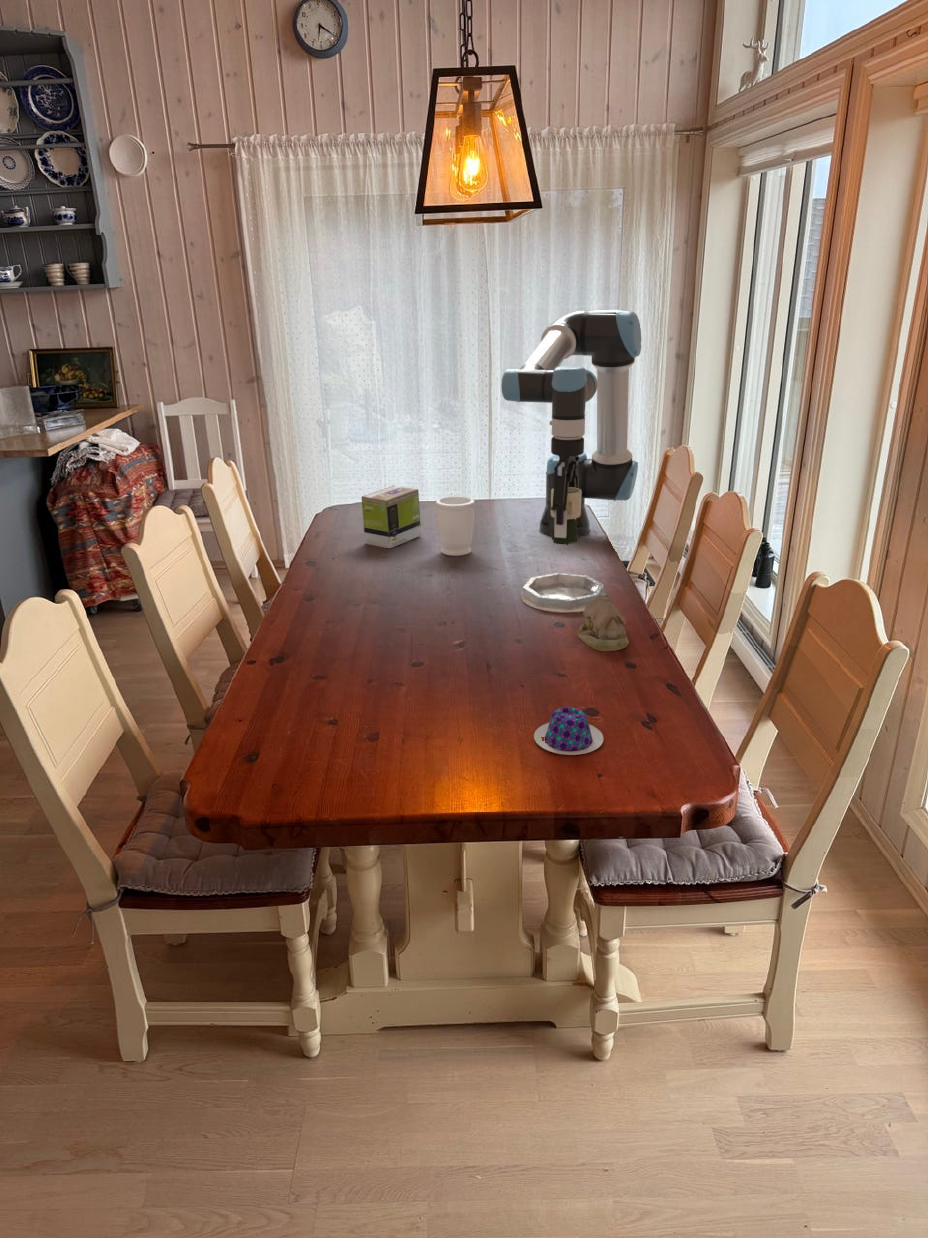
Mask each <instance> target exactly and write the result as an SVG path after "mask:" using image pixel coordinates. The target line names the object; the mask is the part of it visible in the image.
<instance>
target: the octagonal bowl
mask: <svg viewBox="0 0 928 1238" xmlns="http://www.w3.org/2000/svg"><path fill="white" fill-rule="evenodd" d="M599 595H602V596H604V595H607V594H606V592H605V584H603V583H601V582H600V581H598V580H596V579H594V578H593V577H591V576H589V575H585V574H574V573H573V574H572V573H564V572H554V573H549V574H543V575H538V576H537V575H536V576H531V577H530V579H529V580H528V581H527V582H526V584H524V585H523V587H522V591H521V593H520V600H521V601H522V603H524V604H525V605H526V606H528V607H530V608H532V609H535V610H538V611H542V612H546V613H547V612H548V613H557V614H576V613H583V612H584V610H585V608H586V606H587V605H588V604H589V603H590V602H592V601H593V600H594V599H596V598H597V596H599Z"/></svg>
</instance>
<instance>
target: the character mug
mask: <svg viewBox="0 0 928 1238" xmlns="http://www.w3.org/2000/svg"><path fill="white" fill-rule="evenodd" d="M553 493H554V488H553V489H552V490H551V507H552V506H553ZM581 494H582V492H581V489H579V488H575V487H569V488H568V495H567V503H566V510H567V530H566V538H559V537H554V528H553V534H552V536H551V541H552V543H553V544H557V545H563V546H564V545H565V546H568V545H569V544H575V543H578V542H579V536H578V530H577V522H576V520H575V518H578V517H580V515H581ZM558 505H560V504H558ZM551 516H552V517H554V518H555V511H554V510H551ZM554 526H555V523H554Z"/></svg>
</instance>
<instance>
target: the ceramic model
mask: <svg viewBox="0 0 928 1238" xmlns="http://www.w3.org/2000/svg"><path fill="white" fill-rule="evenodd" d="M582 615H583V617H584V623H582V624H580V625H579V627H578V632H577V637H578V638H579V639H580V640H581V641H582V642H583V643H584V644H585V645H587V646H589V647H590V648H591V649H593V650H596V651H600V652H611V651H613V652H614V651H618V650H622V649H624V648H627V647H628V645H629V644H630V641H629V639H628V636H627V631H626V627H625V626H626V624H627V623H626V619H625V617H624V616H623V615H622V614H621V612H620V610H618V609H617V608H616V607H615V605H614V604H613V603H612V602H611V599H610V596H609V595H607V594H606V595H604V596H602V595H599V596H597V598H596V599H594V600H593V601H592V602H590V603H589V604H588V605H587V606H586V608H585V610H584V612H582Z"/></svg>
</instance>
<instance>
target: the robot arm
mask: <svg viewBox="0 0 928 1238" xmlns="http://www.w3.org/2000/svg"><path fill="white" fill-rule="evenodd" d="M641 351H642V328H641V322H640V320H639V316H638V315H637V313H635V312H634V311H633V310H632V311H631V310H621V309H608V310H604V309H603V310H585V309H584V310H582V309H581V310H580V309H579V310H577V311H572V312H569V313H566V314H565V315H563V316H560V317H559V318H557V319H555V320H554V321H553V322H551V323H550V324H549V325H548V326H547V327H546V328H545V329H544V331H543V332H542V334H541V337H540V342H539V344H538V345H537V346H536V347H535V349H534V350H533V351H532V353H531V354H530V355H529V357H528V358H527V359H526V361H525V362H524V363H523V365H522V366H521V367H520V368H510V369H506V370H505V371H504V372H503V374H502V377H501V395H502V397H503V399H504V400H505V401H507V402H516V403H548V404H549V403H550V404H551V421H549V423H548V425H550V426H551V435H552V438H551V441H550V453H551V454H552V455H553V456H551V457H549V458H548V460H547V462H546V471H545V479H546V480H545V483H546V484H545V506H544V510H543V513H542V516H541V519H540V521H539V531H540V532H541V533H542V534H545V535H547V536H551V537H552V534H553V528H554V537H559V538H566V530H567V510H566V503H567V495H568V488H569V487H575V488H579V489H581V492H582V494H581V515H580V517H578V518H575V520H576V522H577V530H578V537H580V536H584V535H587V534H588V533H589V532H590V520H589V516H588V513H587V510H586V507H585V506H586V505H585V503H586V502H585V500H586V499H589V500H590V499H591V500H592V499H594V500H602V501H613V502H616V501H622V502H623V501H628V500H630V499H631V497H632V496H633V495H632V494H633V492H634V488H635V485H636V481H637V476H638V469H639V462H638V461H636V460H633V453H632V452H631V451H630V450H629V449H628V432H629V431H628V429H629V428H628V427H629V426H628V425H629V383H630V382H629V379H630V378H629V376H630V374H629V373H630V371H629V370H630V368H631V367H632V365H634V363H635V361H636V360H635V359H636V357H640V355H641ZM571 356H586V357H587V356H588V357H590V356H591V357H590V358H591V365H592V366H593V367H594V368H595V369H596V375H595V374H594V373H593V372H592V371H591V370H589V369H586V368H585V367H583V366H580V365H562V363H563V362H564V360H566V359H569V358H570V357H571ZM561 365H562V366H561ZM595 394H596V402H597V403H596V412H597V413H596V423H597V424H596V450H595V451H594V452H593V453H592V455H591V458H587V457H588V456H587V453H585V452H584V451H585V438H584V437H583V436H585V433H586V431H585V429H586V403H587V402H589V401H590V400H592V398H594V396H595ZM553 488H554V493H553V506H552V507H551V490H552V489H553ZM558 504H560V505H558ZM551 510H554V511H555V518H554V517H552V516H551ZM554 523H555V526H554Z"/></svg>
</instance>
